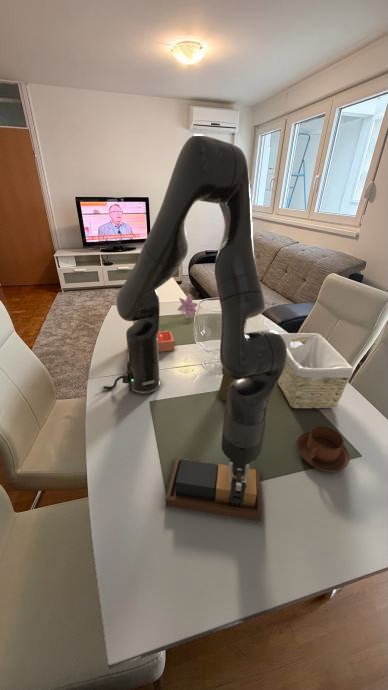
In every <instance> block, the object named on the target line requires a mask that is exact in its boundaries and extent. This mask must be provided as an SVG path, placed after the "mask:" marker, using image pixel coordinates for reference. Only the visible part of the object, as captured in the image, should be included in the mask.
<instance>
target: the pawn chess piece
mask: <svg viewBox="0 0 388 690" xmlns="http://www.w3.org/2000/svg"><path fill="white" fill-rule="evenodd" d="M221 374H222V378H221V382H220V386H219V390H218V397H219V398H220V399H221V400H223V401H225V402H227V394H228V388H229V386H230V384H231V383H232V382H233V381H234V380H236V379H234V378H232V377H230V376H229V375H228V374H227V373H226V372H225V370H224V369H223V367H221Z"/></svg>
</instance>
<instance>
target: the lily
mask: <svg viewBox="0 0 388 690" xmlns="http://www.w3.org/2000/svg"><path fill="white" fill-rule="evenodd" d="M178 299H179V301H180V304H181V305H180V306H178V308H177V311H179V312H182V313H184V314H185V317H186V318H185V319H187V320H188V319H189V317H190V316H191V315H193V316H195V312H196V311H197V309H196V308H197V306H198V305H199V304H198V303H196V302H193V297H192V295H191V293H189V294H188V295H187V297H186V298H185V299H184V298H181V297H179V298H178Z"/></svg>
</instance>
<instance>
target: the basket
mask: <svg viewBox="0 0 388 690" xmlns="http://www.w3.org/2000/svg"><path fill="white" fill-rule="evenodd" d="M278 333H279V332H278ZM279 334H280V335H281V336H282V338H283V339H284V341H285V344H286V347H287V360H286V365H285V368H284V370H283V372H282V374H281V376H280V378H279V380H278V382H277V384H278V386H279V387H280V389H281V391H282V393H283V395H284V397H285V398H286V400H287V402H288V403H289V406H290V407H291V408H293V409H328V408H330V409H332V408H336V407H337V406H338V404H339V402H340V400H341V398H342V396H343V393H344V391H345V389H346V385H347V384H348V383H349V381H350V378H352V377H353V371H354V368H353V367H352V365H350V363H349V362H348V361H347V360H346V359H345V358H344V357H343V356H342V355H341V354H340V353H339V352H338V351H337V350H336V349H335V348H334V347H333V346H332V345H331V344H330V343H329V342H328V341H327V340H326V338H324V336H322V335H321V333H317V332H315V333H311V332H310V333H309V332H290V333H289V332H287V333H285V332H281V333H279ZM295 342H299V343H300V342H302V344H300V345H298V346H296V347H292V345H291V344H292V343H295Z"/></svg>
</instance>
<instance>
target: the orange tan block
mask: <svg viewBox="0 0 388 690" xmlns="http://www.w3.org/2000/svg"><path fill="white" fill-rule="evenodd" d="M218 464H219V466H218V476H217V485H216V496H215V501H218V502H225V503H229V497H230V493H229V490H230V487H231V484H230V483H229V471H230V469H229V466H227V465H228V464H223V465H220V464H221V463H218ZM255 469H256V468H251V469H249V471H248V473H247V484H246V488H245V494H244V502H243V504H240V505H243V506H250V507H254V506H255V501H256V495H257V491H256V470H255ZM232 477H233V478H236V476H235V475H233V469H232ZM243 478H244V475H243V476H242V479H243Z"/></svg>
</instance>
